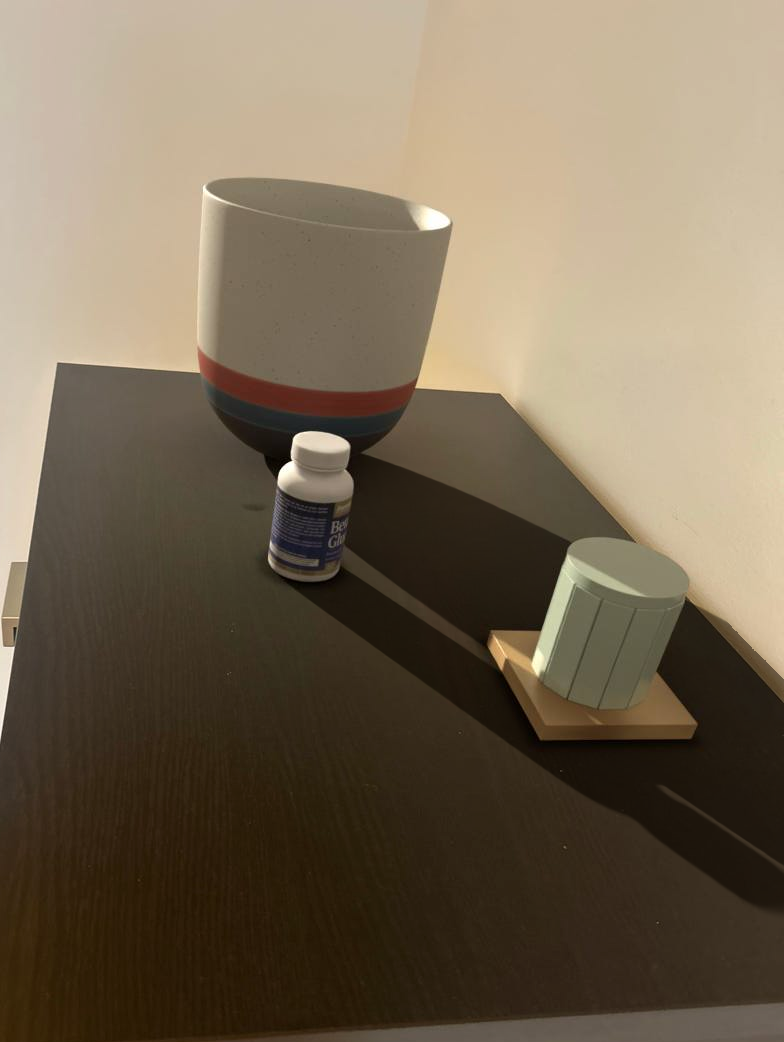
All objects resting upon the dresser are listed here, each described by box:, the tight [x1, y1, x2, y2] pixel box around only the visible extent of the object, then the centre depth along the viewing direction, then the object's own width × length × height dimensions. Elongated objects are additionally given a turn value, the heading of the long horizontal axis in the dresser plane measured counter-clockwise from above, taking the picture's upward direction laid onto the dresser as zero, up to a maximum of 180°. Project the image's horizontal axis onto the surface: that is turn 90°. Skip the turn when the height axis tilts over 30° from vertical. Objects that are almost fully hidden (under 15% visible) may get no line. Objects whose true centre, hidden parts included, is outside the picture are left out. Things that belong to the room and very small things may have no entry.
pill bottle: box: [267, 431, 355, 583], centre depth 67 cm, size 5×5×10 cm
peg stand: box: [486, 629, 698, 741], centre depth 58 cm, size 10×10×7 cm
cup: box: [531, 536, 691, 710], centre depth 58 cm, size 7×7×8 cm
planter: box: [196, 176, 454, 463], centre depth 82 cm, size 20×20×21 cm
